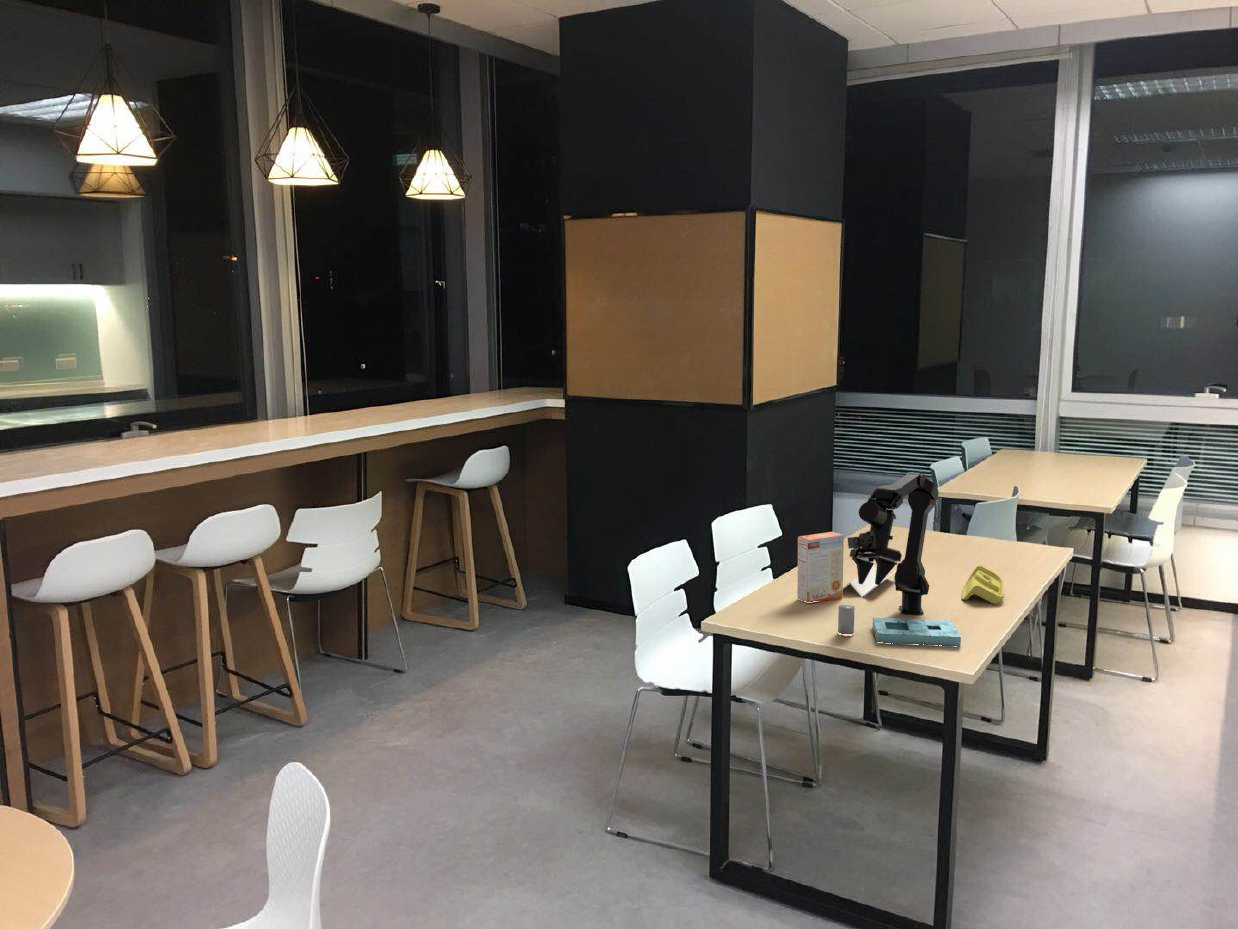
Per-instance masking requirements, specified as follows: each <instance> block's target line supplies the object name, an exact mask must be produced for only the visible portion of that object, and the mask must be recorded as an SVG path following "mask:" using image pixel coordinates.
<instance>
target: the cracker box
mask: <svg viewBox="0 0 1238 929" xmlns="http://www.w3.org/2000/svg"><path fill="white" fill-rule="evenodd" d="M844 538H845V535H844V534H841V533H838V532H835V531H828V532H821V533H814V534H807V535H800V536H798V537H797V592H796V593H797V598H798V599H800V600H802V601H806V602H813V601H822V602H825V600H827V601H832V600H831V599H833V600H837V599H838V598H839V599H842V598H843V597H844V594H843V593H844V589H843V587H844V552H845V551H844V547H845V546H844V545H845V544H844V543H845V542H844V540H845V539H844ZM798 599H797V600H798ZM800 600H799V601H800ZM802 601H801V602H802Z"/></svg>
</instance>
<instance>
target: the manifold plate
mask: <svg viewBox="0 0 1238 929" xmlns="http://www.w3.org/2000/svg"><path fill="white" fill-rule="evenodd" d="M873 629H874V631H873V633H874V632H875V634H874V637H875V636H876V638H875V640H876V639H877V641H876V643H877V642H883V643H891V644H890V645H893V644H919V645H923V644H924V645H938V646H939V645H942V646H957V647H956V648H958V647H960V648H961V641H962V636H961V635H960V633H959V631H958V629H957V627H956V625H955V624H954V622H953V620H947V619H946V620H945V619H944V620H943V619H940V620H939V619H938V620H937V619H922V618H921V619H920V618H919V619H917V618H894V617H876V616H875V617H872V630H873ZM892 643H893V644H892Z"/></svg>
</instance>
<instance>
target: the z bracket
mask: <svg viewBox="0 0 1238 929" xmlns="http://www.w3.org/2000/svg"><path fill="white" fill-rule="evenodd" d="M876 569H877V565H875V564H873V566H872V568H871V570H870V572H869V574H868V576H867V578H866V579H865V581H864V583H863V584H859V582H858V576H856V577H855V578H854V579H852V580H851V581H849V582H848V583H847V584H846V585H844V586H843V590H846V588H848V587H849V586H851V587H852V588H853V589H854V590H855V592H856V593H857V594H858V595H859V596H860V597H861V596H864V597H866V596H867V595H868V594H869V593H870V592H872V591H873V590H875V589H876V588H877V587H878V586H879V585H876V584H875V578H876ZM896 571H897V568H896V569H895V570H894V571H892V572H891V573H890V574H889V575H887V576H886V577H885V578H884V579H883V581H882V582H881V583H880V585H881V584H882V583H883V582H885V581H886V580H887V579H888V578H890V576H892V575H893V574H895V573H896Z"/></svg>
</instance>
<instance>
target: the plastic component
mask: <svg viewBox="0 0 1238 929" xmlns="http://www.w3.org/2000/svg"><path fill="white" fill-rule="evenodd" d="M961 592H962V593H961V598H962V599H961V600H963V601H964V600H966V601H967V600H968V599H970V597H971V596H973V595H976V596H977V597H979V598H981V599H983V600H985V601H987V602H989V603H990V604H994V605H997V603H998V604H999V603H1000V602H1001V600H1002V599H1003V597H1004V581H1003V579H1002V577H1000V576H999V574H997V573H996V572H994V571H992V570H990V569H989V568H987V567H984V566H983V565H977V566H976V567H975V568H974V569H973V571H972V573H971V574H970V576H969V577H968V578H967V581H966V582H965V584H964V586H963V589H962V591H961Z"/></svg>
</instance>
